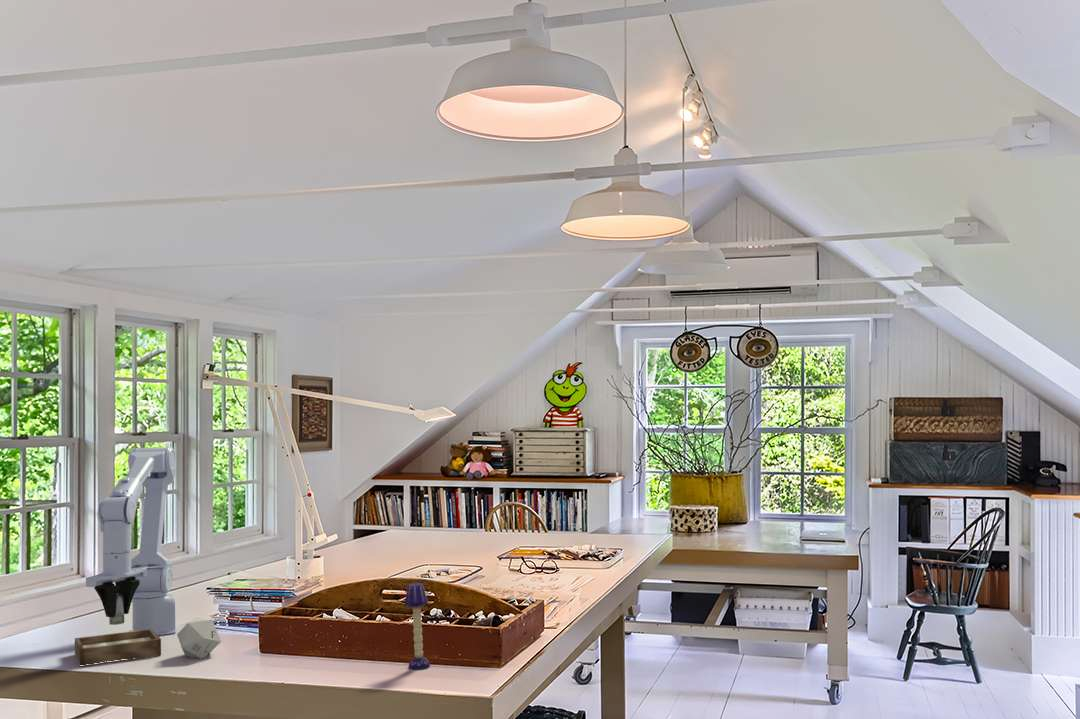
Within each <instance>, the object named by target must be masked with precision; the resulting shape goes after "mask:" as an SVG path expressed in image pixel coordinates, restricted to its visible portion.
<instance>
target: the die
mask: <svg viewBox="0 0 1080 719" xmlns="http://www.w3.org/2000/svg"><path fill="white" fill-rule="evenodd" d="M176 635H177V638H178V642H179V644H180V648H181V650H182V652H183V654H184V656H185V657H187V656H189V657H188V658H193V657H196V658H195V659H199V658H203V659H205V657H207V656H208V655H209V654H210V653H212V652H213V650H214V649H215V648H216V647H217V646H219V645H220V644H221V642H222V641H221V638H220V636H219V632H218V631H217V628H216V625H215V623H214V620H213V619H211V618H210V619H208V618H202V617H196V618H193V619H192V620H190V621H189V622H187V623H186V625H184V627H182V629H180V630H179V632H178V633H176ZM206 655H207V656H206Z"/></svg>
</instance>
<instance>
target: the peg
mask: <svg viewBox="0 0 1080 719" xmlns="http://www.w3.org/2000/svg"><path fill="white" fill-rule="evenodd" d="M108 618H109V620H108V622H109V623H108V624H109V625H111V626H113V625H115V626H117V625H122V624H124V623H125V614H124V594H117V599H116V614H115V617H108Z"/></svg>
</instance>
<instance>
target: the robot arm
mask: <svg viewBox="0 0 1080 719" xmlns="http://www.w3.org/2000/svg"><path fill="white" fill-rule="evenodd" d="M127 463H128V464H127V465H128V469H129V470H128V472H127V475H126V477H122V478H121V479H119V480H118V482H117V483H116V485H115V487H114V489H113V490H112V492H110V495H109V496H108V497H105V498H103V499H101V500H100V502H99V505H98V510H97V517H98V521H99V527H100V532H102V571H101V573H98V574H95V575H92V576H91V575H90V576H88V577H85V587H86V588H93V589H94V590H95V592H96V593H97V595H98V597H99V598H100V601H101V603H102V606H103V609H104V614H105V617H107V618H109V617H115V614H116V599H117V594H124V615H128V614H129V613H130V608H131V605H132V609H131V610H132V612H131V613H132V629H129V630H128V632H130V631H139V630H147V629H153V630H154V632H155V633H156V634H157V635H158V636H163V635H170V634H177V631H176V600H175V596H174V593H169V592H170V591H171V589H172V586H173V582H174V581H173V579H174V578H173V564H172V562H171V561H170V559H168V558H167V557H166V556H165V555H163V554H162V546H163V545H162V543H163V535H164V523H165V513H166V512H165V511H166V500H167V492H168V486H169V485H171V484H173V483H174V482H175V477H176V469H177V456H176V451H175V449H174V448H173V447H172V446H166V447H132V448H131V450H130V451H129V453H128V459H127ZM144 489H145V493H144V504H143V513H142V521H141V522H142V524H141V535H140V544H139V545H140V546H139V553H138V554H137V555H135V556H134V557H133V558H132V523H133V522H134V521H135V517H136V512H137V511H136V510H137V508H138V506H137V505H138V504H137V503H138V501H139V499H140V498H141V496H142V494H143V492H144Z"/></svg>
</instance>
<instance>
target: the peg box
mask: <svg viewBox="0 0 1080 719" xmlns="http://www.w3.org/2000/svg"><path fill="white" fill-rule="evenodd" d="M75 655H76V656H75ZM160 655H161V656H162V638H160V635H157V634H156V633H155V632H154V630H153V629H147V630H139V631H130V632H129V631H123V632H115V633H109V634H108V633H106V634H99V635H90V636H82V637H75V638H74V656H75V658H76V657H77V658H76V661H77V660H78V661H77V663H78V662H79V663H78V665H79V664H80V665H86V664H94V663H100V662H105V661H106V662H107V661H114V660H121V659H132V660H134V659H133V658H140V659H146V658H145V657H147V658H153V656H154V657H159V656H160ZM161 656H160V657H161ZM80 665H79V666H80Z"/></svg>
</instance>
